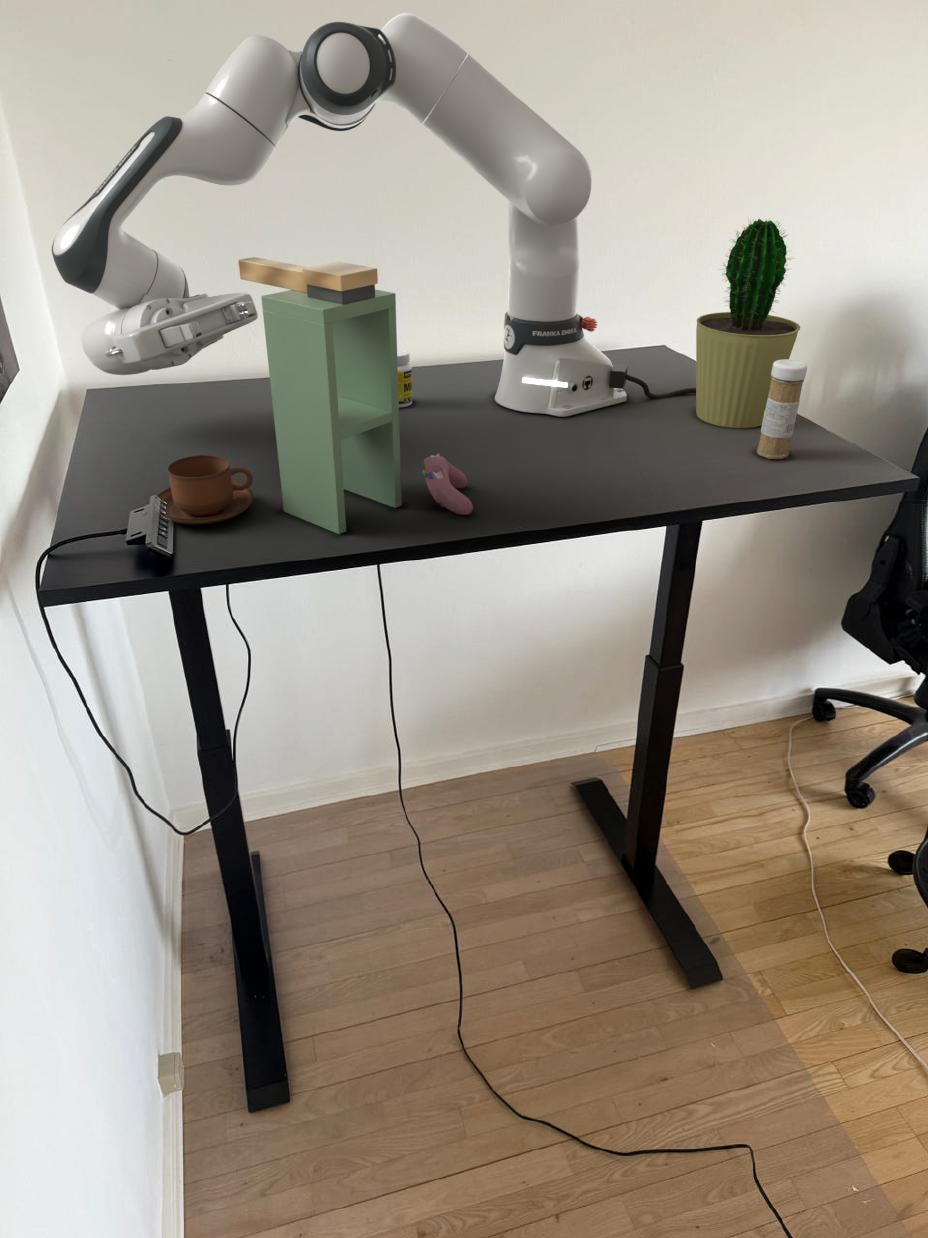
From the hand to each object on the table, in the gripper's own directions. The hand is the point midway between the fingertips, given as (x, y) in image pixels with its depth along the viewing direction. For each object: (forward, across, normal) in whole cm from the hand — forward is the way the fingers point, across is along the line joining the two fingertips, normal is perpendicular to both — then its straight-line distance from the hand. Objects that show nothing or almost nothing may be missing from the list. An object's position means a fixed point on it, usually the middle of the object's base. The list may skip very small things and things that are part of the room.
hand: (224, 319), depth 113 cm
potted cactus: (+38, +60, +38) cm, 81 cm away
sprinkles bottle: (+49, +47, +40) cm, 79 cm away
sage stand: (+13, -3, +25) cm, 28 cm away
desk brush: (+16, -1, -1) cm, 16 cm away
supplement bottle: (-7, +33, +22) cm, 41 cm away
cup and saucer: (+1, -14, +20) cm, 25 cm away
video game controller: (+22, +6, +28) cm, 36 cm away
